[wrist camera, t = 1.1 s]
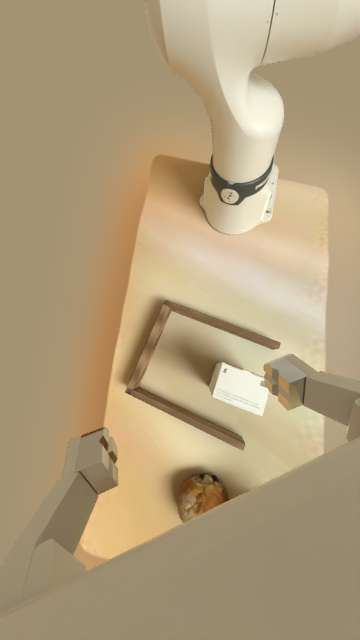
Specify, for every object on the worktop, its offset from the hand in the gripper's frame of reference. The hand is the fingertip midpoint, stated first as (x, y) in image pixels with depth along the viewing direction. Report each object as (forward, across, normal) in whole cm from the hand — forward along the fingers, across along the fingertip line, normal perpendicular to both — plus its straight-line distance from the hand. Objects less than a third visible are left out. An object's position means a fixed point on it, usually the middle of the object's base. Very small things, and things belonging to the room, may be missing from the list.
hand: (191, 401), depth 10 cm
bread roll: (+15, +1, +44) cm, 46 cm away
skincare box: (+25, -13, +27) cm, 39 cm away
